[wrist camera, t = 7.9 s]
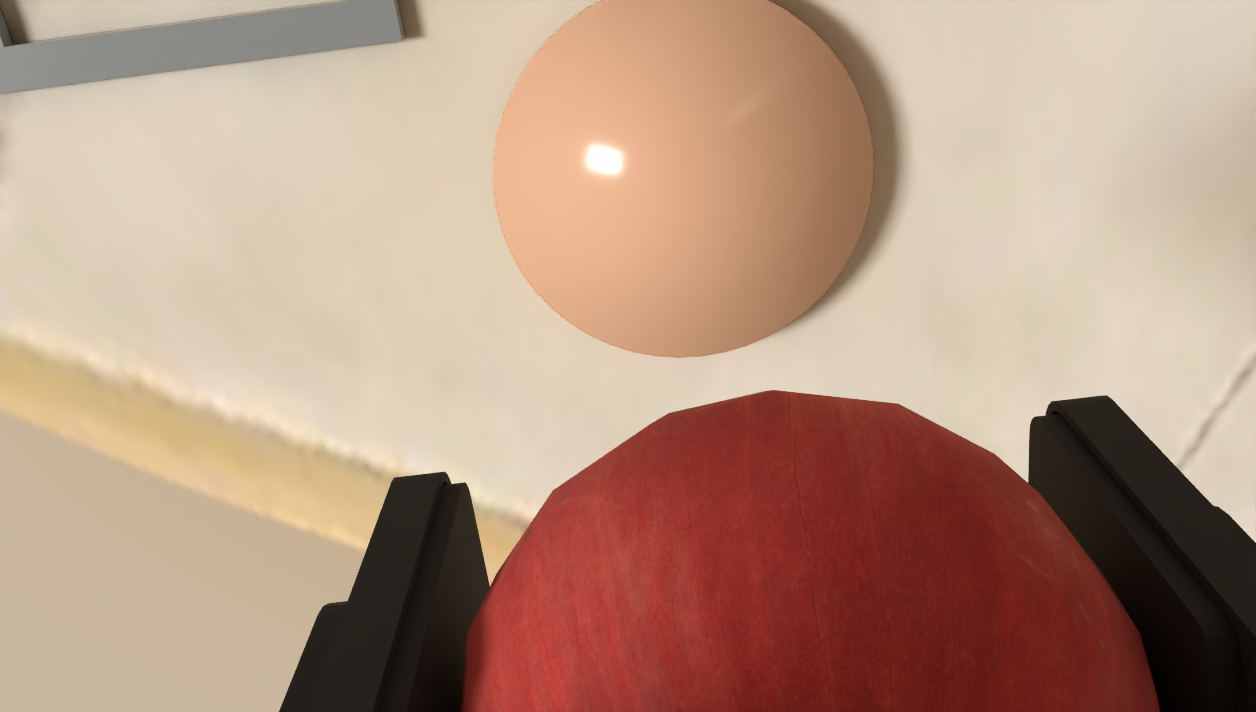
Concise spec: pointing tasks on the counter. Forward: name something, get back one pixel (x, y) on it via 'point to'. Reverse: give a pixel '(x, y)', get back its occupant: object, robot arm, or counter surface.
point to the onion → (801, 578)
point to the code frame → (196, 43)
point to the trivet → (683, 172)
